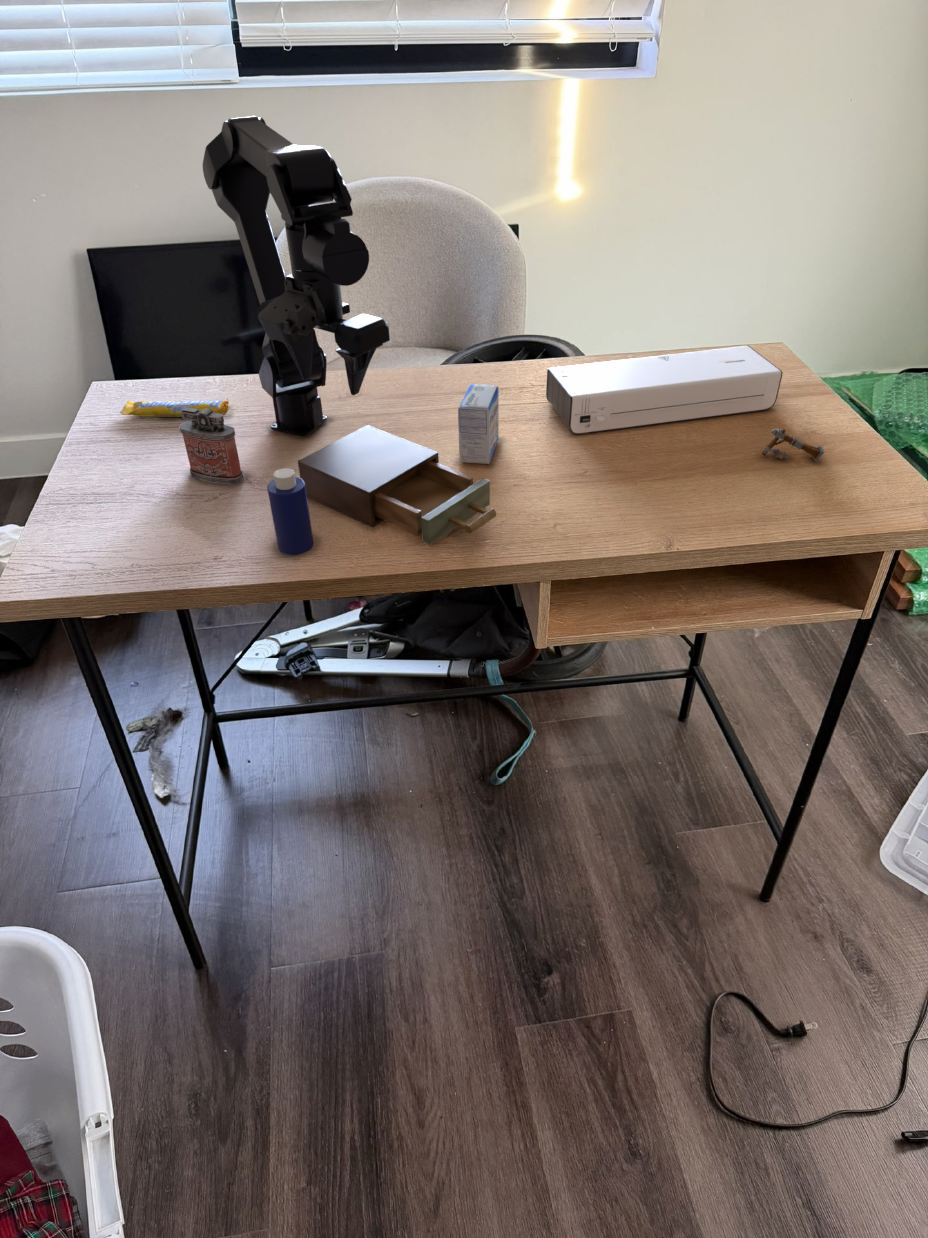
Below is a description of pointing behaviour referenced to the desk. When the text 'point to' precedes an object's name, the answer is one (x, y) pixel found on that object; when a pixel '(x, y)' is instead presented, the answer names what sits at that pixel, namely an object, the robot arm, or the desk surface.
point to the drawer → (434, 502)
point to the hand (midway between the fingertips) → (330, 386)
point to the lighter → (210, 447)
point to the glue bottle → (290, 512)
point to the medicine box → (478, 423)
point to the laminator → (662, 389)
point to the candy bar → (171, 408)
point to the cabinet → (360, 470)
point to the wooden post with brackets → (780, 434)
